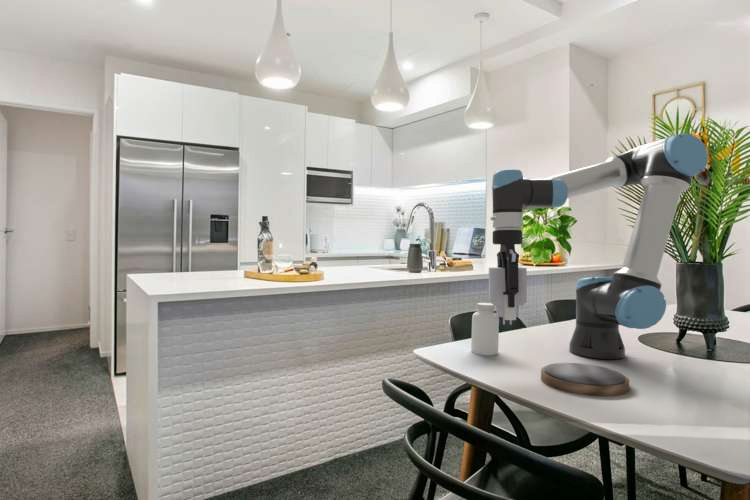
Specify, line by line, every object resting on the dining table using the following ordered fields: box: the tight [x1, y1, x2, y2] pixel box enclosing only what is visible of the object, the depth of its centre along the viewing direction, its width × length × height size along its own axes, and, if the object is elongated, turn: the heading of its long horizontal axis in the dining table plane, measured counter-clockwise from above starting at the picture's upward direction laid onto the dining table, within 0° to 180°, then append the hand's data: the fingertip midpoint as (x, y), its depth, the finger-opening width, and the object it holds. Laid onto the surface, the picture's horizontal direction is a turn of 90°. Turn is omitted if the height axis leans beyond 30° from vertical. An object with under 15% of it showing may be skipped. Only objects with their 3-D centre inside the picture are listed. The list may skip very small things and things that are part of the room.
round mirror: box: [540, 362, 630, 397], centre depth 106 cm, size 19×19×2 cm
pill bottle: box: [470, 302, 500, 356], centre depth 135 cm, size 8×8×15 cm
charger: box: [488, 266, 528, 326], centre depth 117 cm, size 5×9×15 cm, turn 80°
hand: (507, 317), depth 117 cm, fingers closed on charger, 5 cm apart
